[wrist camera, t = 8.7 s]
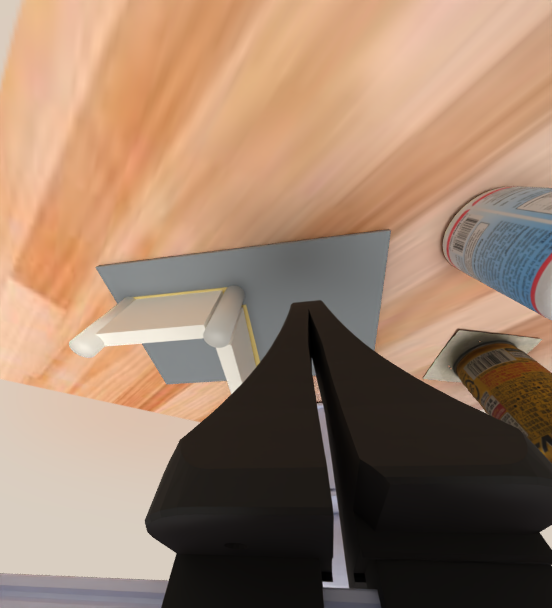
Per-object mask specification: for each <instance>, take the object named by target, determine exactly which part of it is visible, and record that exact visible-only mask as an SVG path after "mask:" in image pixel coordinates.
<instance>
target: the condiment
mask: <svg viewBox="0 0 552 608" xmlns="http://www.w3.org/2000/svg"><path fill="white" fill-rule="evenodd" d="M541 340H542V339H536V338H529V337H519V336H513V335H501V334H490V333H483V332H469V331H462V330H459V331H458V332H457V333H456V335H455V336H454V337H452V339H451V340H450V342H449V343H448V344H447V346H446V347H445V348H444V349H443V350H442V352H441V353H440V355H439V356H438V358H436V359H435V362H434V363H433V365H432V366H431V368H430V369H429V370H428V372H427V374H426V375H425V376H424V378H423V379H429V380H438V381H447V382H462V383H463V384H464V386H465V387H466V388H468V391H469V392H470V393H471V394H472V395H473V397H474V398H475V399H476V400H477V401H478V402H479V403H480V405H481V406H482V407H483V409H484V410H485V412H486V413H487V414H489V415H490V416H492V417H495V418H497V419H499V420H501V421H503V422H505V423H507V424H510V425H512V426H514V427H516V428H518V429H519V430H520V431H521V432H522V433H523V434H524V435H525V436H526V437H527V438H528V439H529V440H530V441H531V442H532V443H533V444H534V445H535V446H536V447H537V448H538V449H539V450H540V451H541V452H542V453H543V454H544V455H545V457H546V458H547V459H548V460H549V461H550V462H551V463H552V373H551V372H550V371H548V370H547V369H546V368H544V367H543V366H542V365H540V364H539V363H538V362H536V361H535V360H534V359H532V358H531V357H530V356H529V355H527V353H529V352H530V351H531V350H532V349H533V348H534V347H535V346H536V345H537V344H538V343H539V342H540V341H541ZM479 341H481V342H479ZM448 365H449V366H450V367H448ZM450 368H452V369H450Z"/></svg>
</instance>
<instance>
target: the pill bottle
mask: <svg viewBox="0 0 552 608" xmlns="http://www.w3.org/2000/svg"><path fill="white" fill-rule="evenodd" d="M443 252H444V255H445V257H446V259H447V260H448V262H449V263H450V264H451V265H453V266H454V267H456V268H457V269H459V270H461V271H462V272H464V273H466V274H468V275H469V276H471V277H473V278H475V279H477V280H478V281H480V282H482V283H484V284H486V285H487V286H489V287H491V288H493V289H495V290H496V291H498V292H500V293H502V294H504V295H506V296H508V297H509V298H511V299H513V300H515V301H516V302H518V303H520V304H522V305H524V306H526V307H527V308H529V309H531V310H533V311H535V312H537V313H538V314H540V315H542V316H544V317H545V318H548V319H550V320H552V188H537V187H502V188H497V189H493V190H490V191H488V192H486V193H483V194H481V195H480V196H478V197H476V198H475V199H473V200H472V201H470V202H469V203H468V204H466V205H465V206H464V207H463V208H462V209H461V210H460V211H459V212H458V213H457V214H456V215H455V217H454V218H453V219H452V221H451V222H450V224H449V226H448V228H447V230H446V232H445V235H444V239H443Z"/></svg>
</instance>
